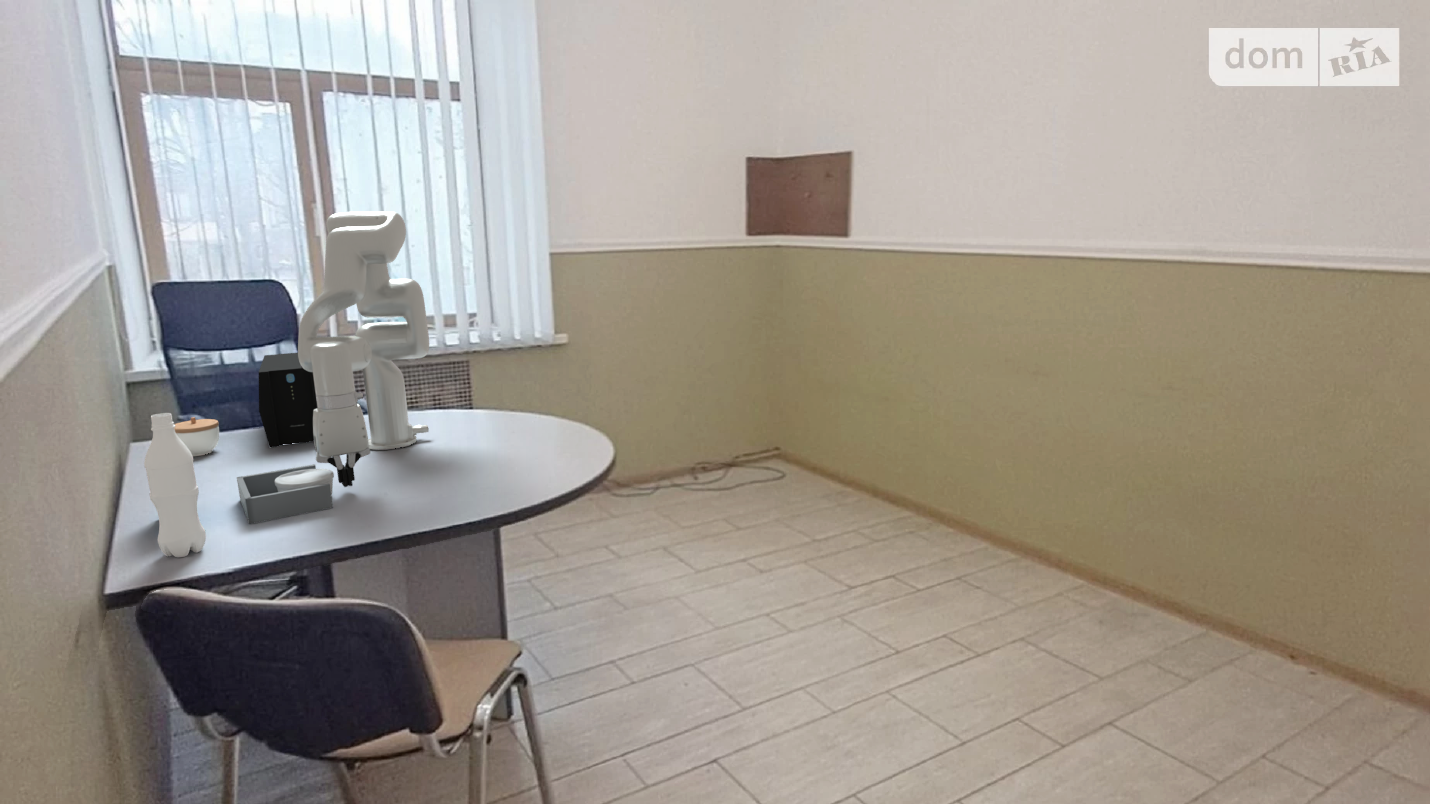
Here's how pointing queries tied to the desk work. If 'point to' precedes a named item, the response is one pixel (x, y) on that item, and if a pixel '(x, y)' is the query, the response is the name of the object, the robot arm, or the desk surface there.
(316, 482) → the ramekin
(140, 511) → the desk surface
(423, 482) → the desk surface
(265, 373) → the uninterruptible power supply
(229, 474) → the desk surface
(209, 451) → the lidded jar
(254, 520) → the box
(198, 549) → the water bottle
